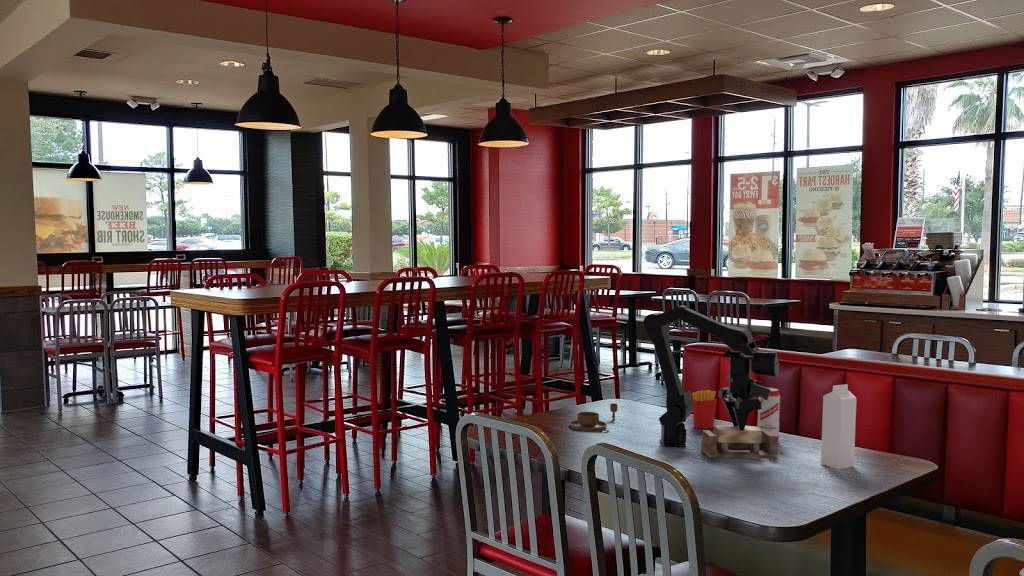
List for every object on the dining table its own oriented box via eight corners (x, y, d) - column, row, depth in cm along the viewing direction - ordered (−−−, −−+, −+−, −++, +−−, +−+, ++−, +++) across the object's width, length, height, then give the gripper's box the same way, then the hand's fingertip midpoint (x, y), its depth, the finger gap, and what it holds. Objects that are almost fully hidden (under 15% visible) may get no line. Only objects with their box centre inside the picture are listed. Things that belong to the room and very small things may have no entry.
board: (718, 442, 223) (718, 429, 223) (714, 437, 228) (714, 425, 228) (761, 443, 223) (761, 430, 223) (756, 438, 228) (756, 426, 228)
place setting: (560, 423, 262) (560, 406, 262) (614, 419, 269) (615, 402, 269) (582, 436, 246) (582, 417, 245) (639, 431, 252) (640, 413, 252)
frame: (709, 457, 221) (710, 436, 221) (701, 450, 229) (701, 429, 229) (776, 457, 222) (777, 436, 222) (765, 450, 230) (766, 429, 230)
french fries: (710, 424, 262) (711, 388, 261) (717, 427, 258) (718, 390, 257) (688, 426, 259) (689, 389, 258) (695, 429, 255) (696, 391, 254)
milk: (853, 467, 214) (858, 386, 213) (838, 470, 211) (842, 387, 210) (834, 461, 219) (838, 382, 218) (819, 464, 216) (823, 383, 215)
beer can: (779, 444, 237) (781, 391, 236) (758, 443, 238) (759, 390, 237) (777, 439, 243) (779, 387, 242) (755, 438, 244) (757, 386, 243)
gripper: (780, 379, 216) (779, 436, 217) (755, 368, 234) (754, 420, 235) (740, 379, 215) (739, 436, 216) (718, 368, 234) (717, 421, 234)
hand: (738, 428), depth 225 cm, fingers closed on board, 4 cm apart
